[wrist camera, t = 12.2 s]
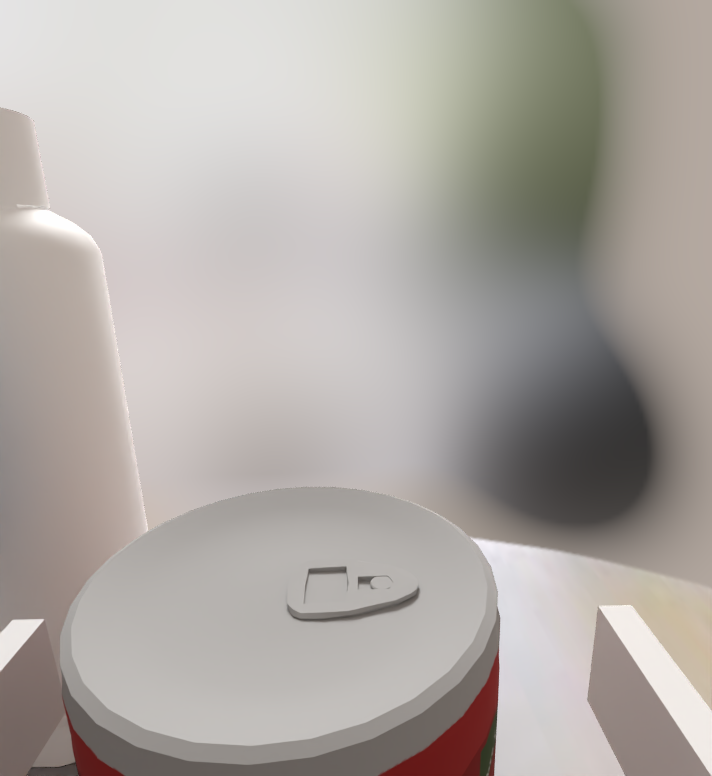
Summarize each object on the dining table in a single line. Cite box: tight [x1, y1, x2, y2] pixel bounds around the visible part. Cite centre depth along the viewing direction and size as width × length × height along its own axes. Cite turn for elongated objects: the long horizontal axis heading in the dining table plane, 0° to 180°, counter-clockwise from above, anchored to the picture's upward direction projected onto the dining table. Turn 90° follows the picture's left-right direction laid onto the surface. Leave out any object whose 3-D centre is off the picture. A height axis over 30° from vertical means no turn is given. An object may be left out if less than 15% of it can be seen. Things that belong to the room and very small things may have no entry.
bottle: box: [0, 108, 148, 767], centre depth 23 cm, size 8×8×28 cm
